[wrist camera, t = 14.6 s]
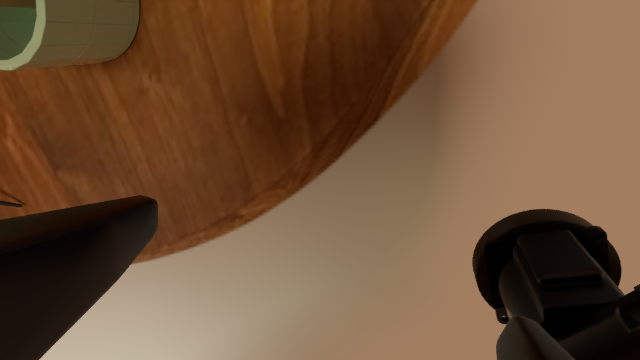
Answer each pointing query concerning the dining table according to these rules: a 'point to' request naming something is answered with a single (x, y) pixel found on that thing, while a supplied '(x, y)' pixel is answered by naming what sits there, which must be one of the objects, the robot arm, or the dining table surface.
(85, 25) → the green mortar bowl
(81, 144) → the dining table surface
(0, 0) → the wooden pestle
